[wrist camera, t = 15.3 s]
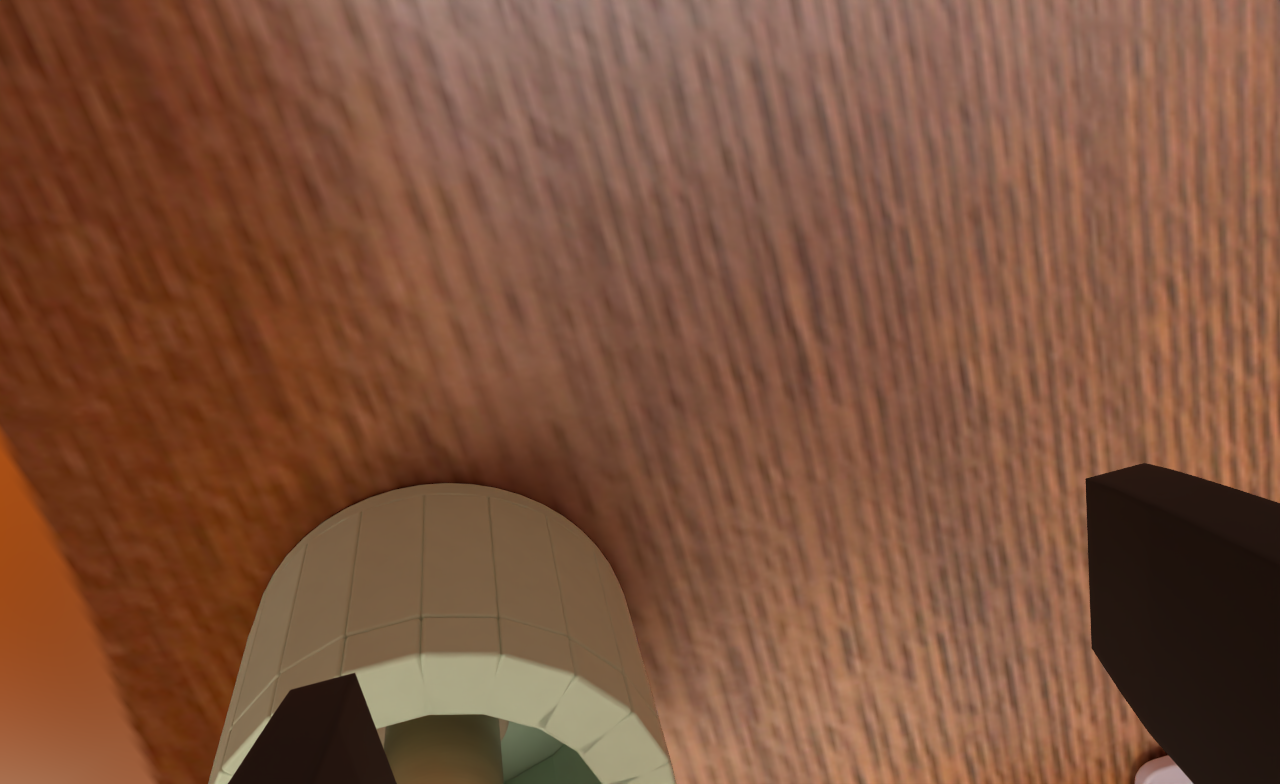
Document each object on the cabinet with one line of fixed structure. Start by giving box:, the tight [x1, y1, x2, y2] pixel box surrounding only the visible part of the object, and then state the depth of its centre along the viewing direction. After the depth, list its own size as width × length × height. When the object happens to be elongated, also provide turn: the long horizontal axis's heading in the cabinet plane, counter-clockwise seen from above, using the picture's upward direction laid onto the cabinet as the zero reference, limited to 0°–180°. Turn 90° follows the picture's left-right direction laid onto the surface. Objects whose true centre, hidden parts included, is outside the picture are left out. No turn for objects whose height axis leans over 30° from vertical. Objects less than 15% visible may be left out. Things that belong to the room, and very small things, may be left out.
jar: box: [208, 483, 676, 784], centre depth 20 cm, size 7×7×6 cm
